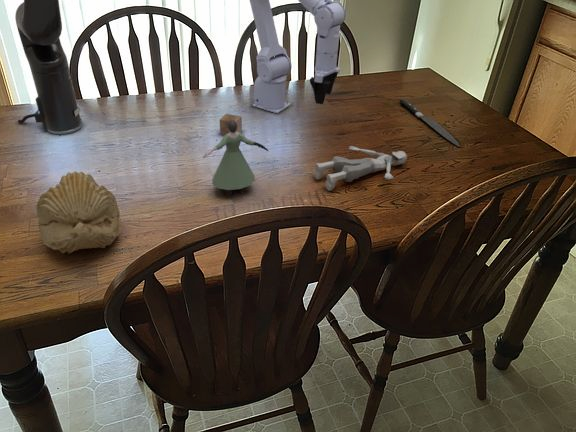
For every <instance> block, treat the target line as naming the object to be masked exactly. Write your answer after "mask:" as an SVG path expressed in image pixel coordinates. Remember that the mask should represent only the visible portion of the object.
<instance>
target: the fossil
mask: <svg viewBox="0 0 576 432" xmlns="http://www.w3.org/2000/svg"><path fill="white" fill-rule="evenodd" d="M36 214H37V216H36V217H37V218H38V219H37V220H38V229H39V236H40V238H41V240H42V243H43V245H45V246H46V247H48V248H50V249H52V250H54V251H59V252H60V253H62V254H65V253H67V254H72V253H73V252H76V251H78V250H83V249H84V250H86V249H93V248H94V249H97V248H103V249H104V248H106V246H111V245H112V244H113V242H114V241H116V238H117V237H119V235H120V233H121V231H122V222H121V220H120V217H121V215H120V209H119V205H118V203H117V199H116V196H115V195H114V193H113V192H112V191H110V190H108V188H106V186H105V185H103V184H100V185H99V184H98V183H97V182H96V181H95V179H94V177H93V175H91V174H90V173H86V174H85V173H84V172H83V171H79V172H77V171H76V170H75V171H73V172H70V171H67V173H66V175H64V174H63V175H62V176H61V177H60V180H59V183H57V184H56V185H55V187H53V186H49V188H48V190H46V192H43V193H41V194H40V195H39V198H38V201H37V203H36Z"/></svg>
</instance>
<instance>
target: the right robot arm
mask: <svg viewBox="0 0 576 432" xmlns="http://www.w3.org/2000/svg"><path fill="white" fill-rule="evenodd" d="M297 1H298V2H299V3H300V4H301V5H302V6H303V7H304V8H305V9H306V10H307V11H308V12H309V13H310V14H311V15H312V16H313V20H314V23H315V25H316V33H317V40H316V55H315V65H314V76H310V79H309V83H310V86H311V87H312V91H313V97H314V101H315V104H318V105H324V103H325V100H326V96H327V95H331V93H332V90H333V87H334V84H335V82H336V81H335V80H336V78H337V76H338V74H339V73H340V71H341V67H338V66H337V63H338V54H339V53H338V51H339V41H340V34H341V33H340V31H341V25H342V24H343V23H344V21H345V20H346V17H347V16H346V15H347V14H346V9H345V7H344V6H343V4H342V3H341V2H340V1H333V0H297ZM249 3H250V7H251V12H252V16H253V20H254V21H253V22H254V24H255V29H256V33H257V37H258V43H259V46H260V51H259V52H258V53H257V55H256V57H255V60H256V73H257V77H256V79H255V80H254V85H253V103H252V107H254V108H258V109H261V110H265V111H267V112H271V113H275V114H279V113H281V112H282V111H284V110H285V109H287V108H288V107H290V106H291V103H289V102H286V89H287V88H286V86H287V79H288V75H289V74H290V73H291V71H292V67H293V66H292V61H291V59H290V57H289V56H288V53H287V49H286V48H285V47H284V46H282V45H280V42H279V38H278V33H277V29H276V25H275V20H274V16H273V11H272V7H271V2H270V0H249Z"/></svg>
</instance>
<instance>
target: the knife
mask: <svg viewBox="0 0 576 432" xmlns="http://www.w3.org/2000/svg"><path fill="white" fill-rule="evenodd" d="M398 101H399V103H400V104H402V105H403V106H404V107H405V108H406V109H407V110H409V111H410V112H411V113H412V114H413V115H414V116H416V118H418V119H421V120H422V121H423V122H425V123H426V124H427V125H428V126H429V127H430V128H432V129H433V130H434V131H435V132H436V133H438V134H439V135H441V136H442V137H443V138H445V139H446V140H447V141H449V143H451V144H453V145H455V146H457V147H461V145H460V143H459V142H458V141H457V140H456V138H455V137H454V136H453V135H452V134H450V132H448V130H446V129H445V128H444V127H443V126H441V125H440V124H439V123H438V122H437V121H436V120H435V119H433V118H432V117H430V116H429V117H428V116H425V115H424V114H423V113H422V112H421V111H420V110H419V109H418V108H417V107H415V106H414V105H413V104H412V103H411V101H410V100H408V99H404V98H399V99H398Z"/></svg>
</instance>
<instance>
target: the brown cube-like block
mask: <svg viewBox="0 0 576 432" xmlns="http://www.w3.org/2000/svg"><path fill="white" fill-rule="evenodd" d="M230 120H234V121H235V122H236V124H237V130H236V132H239V133H241V134H242V132H243V124H242V123H243V117H242V116H240V115H235V114H230V113H225V114H224V115H223V116H222V117H220V118H219V135H220V136H223V137H224V136H225V135H226V134H228V133H229V132H230V130H229V129H228V126H227V125H226V124H227V122H228V121H230Z"/></svg>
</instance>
